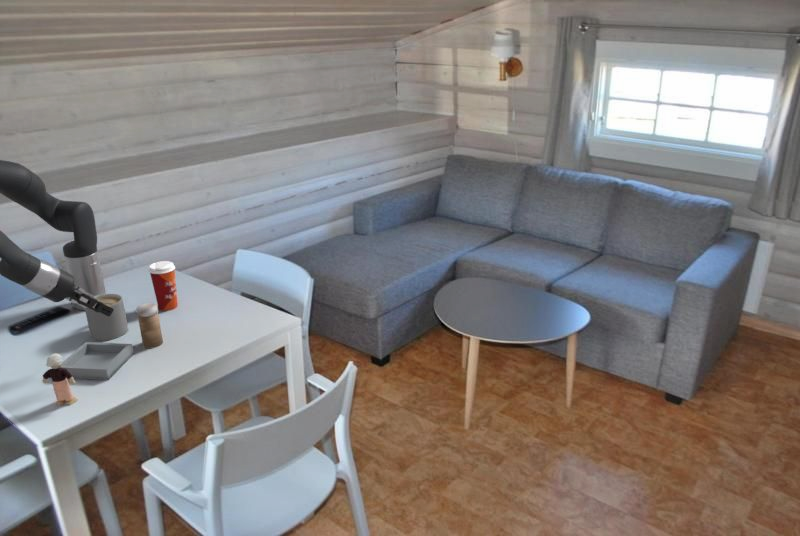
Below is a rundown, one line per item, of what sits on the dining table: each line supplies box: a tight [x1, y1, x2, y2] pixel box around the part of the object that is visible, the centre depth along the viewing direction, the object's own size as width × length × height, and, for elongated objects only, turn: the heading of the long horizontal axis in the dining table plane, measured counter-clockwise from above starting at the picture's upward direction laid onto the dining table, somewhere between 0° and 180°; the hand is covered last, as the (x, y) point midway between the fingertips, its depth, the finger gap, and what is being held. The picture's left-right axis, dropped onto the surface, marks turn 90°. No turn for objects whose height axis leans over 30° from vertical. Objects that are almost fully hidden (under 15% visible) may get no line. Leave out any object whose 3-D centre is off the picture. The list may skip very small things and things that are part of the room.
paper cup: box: [148, 260, 178, 312], centre depth 196 cm, size 8×8×14 cm
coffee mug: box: [84, 293, 129, 342], centre depth 183 cm, size 13×10×10 cm
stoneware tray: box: [61, 341, 135, 381], centre depth 166 cm, size 13×13×3 cm
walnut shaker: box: [135, 302, 164, 349], centre depth 175 cm, size 5×5×11 cm
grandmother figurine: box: [41, 352, 79, 406], centre depth 148 cm, size 8×4×13 cm, turn 98°
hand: (103, 308), depth 163 cm, fingers open, 8 cm apart
